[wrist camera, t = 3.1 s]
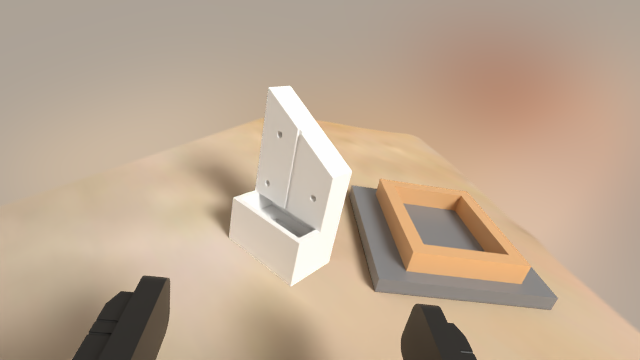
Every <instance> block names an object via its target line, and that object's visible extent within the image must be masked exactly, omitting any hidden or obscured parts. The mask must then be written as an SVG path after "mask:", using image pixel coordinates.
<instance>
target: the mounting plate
mask: <svg viewBox="0 0 640 360" xmlns="http://www.w3.org/2000/svg"><path fill="white" fill-rule="evenodd" d="M349 196H350V200H351V204H352V207H353V211H354V215H355V219H356V222H357V226H358V230H359V234H360V237H361V241H362V245H363V249H364V252H365V256H366V260H367V263H368V267H369V271H370V275H371V278H372V282H373V286H374V290H375V291H376V292H386V293H396V294H405V295H415V296H424V297H434V298H444V299H453V300H463V301H472V302H482V303H492V304H501V305H511V306H520V307H530V308H540V309H549V310H551V309H552V307H553V305H554V304H555V302H556V301H557V299H558V298H557V297H556V295H555V294H554V293H553V292H552V291H551V290H550V288H549V287H548V286H547V285H546V284H545V283H544V281H543V280H542V279H541V278H540V277H539V276H538V274H537V273H536V272H535V271H534V270H533V269H532V267H531V266H530V264H529V263H528V262H527V261H526V260H525V259H524V257H523V256H522V255H521V254H520V253H519V252H518V250H517V249H516V248H515V247H514V246H513V245H512V243H511V242H510V241H509V240H508V239H507V238H506V236H505V235H504V234H503V233H502V232H501V231H500V229H499V228H498V227H497V226H496V225H495V224H494V222H493V221H492V220H491V219H490V218H489V217H488V215H487V214H486V213H485V212H484V211H483V210H482V208H481V207H480V206H479V205H478V204H477V203H476V201H475V200H474V199H473V198H472V197H471V196H470V194H469V193H468V192H466V191H459V190H452V189H445V188H439V187H432V186H425V185H418V184H412V183H405V182H398V181H391V180H385V179H380V181H379V184H378V188H377V189H373V188H366V187H359V186H352V187H351V191H350V194H349Z"/></svg>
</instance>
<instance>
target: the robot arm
mask: <svg viewBox="0 0 640 360" xmlns="http://www.w3.org/2000/svg"><path fill="white" fill-rule="evenodd" d="M169 313H170V279H169V278H164V277H154V276H143V277H142V278H141V280H140V282H139V284H138V286H137V287H136V289H135V291H134V292H124V291H121V292H120V293H118V294H117V295H116V296H115V297H113V298H112V299H111V300H110V301H109V302H107V303H106V304H105V306H104V308H103V309H102V311H101V313H100V314H99V316H98V318H97V321H96V322H95V323H94V324H93V326H92V328H91V329H90V331H89V334H88V335H87V336H86V338H85V339H84V341H83V343H82V344H81V346H80V347H79V349H78V351H77V352H76V354H75V356H74V357H73V359H72V360H156V357H157V355H158V352H159V349H160V347H161V344H162V341H163V339H164V336H165V333H166V330H167V326H168V321H169ZM401 352H402V357H403V360H477V359H476V357H475V355H474V354H473V351H472V349H471V347H470V345H469V343H468V341H467V339H466V337H465V336H464V335H463V333H462V332H461V331H460V330H459V329H458V328H457V327H456V326H455V325H454V323H447V320H446V318H445V316H444V314H443V312H442V310H441V308H440V307H439V306H435V305H425V304H415V305H414V307H413V309H412V312H411V314H410V316H409V319H408V321H407V324H406V326H405V329H404V331H403V334H402V338H401Z"/></svg>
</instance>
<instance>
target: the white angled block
mask: <svg viewBox="0 0 640 360" xmlns="http://www.w3.org/2000/svg"><path fill="white" fill-rule="evenodd" d="M351 173H352V170H351V169H350V168H349V166H348V165H347V164H346V162H345V161H344V159H343V158H342V157H341V155H340V154H339V152H338V151H337V150H336V148H335V147H334V146H333V144H332V143H331V141H330V140H329V139H328V137H327V136H326V135H325V133H324V132H323V130H322V129H321V128H320V126H319V125H318V124H317V122H316V121H315V119H314V118H313V117H312V116H311V114H310V113H309V111H308V110H307V108H306V107H305V106H304V104H303V103H302V101H301V100H300V99H299V97H298V96H297V95H296V93H295V92H294V90H293V89H292V88H291V86H282V87H269V89H268V96H267V104H266V112H265V119H264V127H263V134H262V142H261V149H260V157H259V165H258V172H257V180H256V187H255V190H254V191H251V192H248V193H245V194H242V195H239V196H236V197H233V203H232V213H231V222H230V232H229V239H231V240H232V241H233V242H234V243H236V244H237V245H238V246H240V247H241V248H242V249H243V250H245V251H246V252H247V253H248V254H250V255H251V256H252V257H254V258H255V259H256V260H257V261H259V262H260V263H261V264H262V265H264V266H265V267H266V268H268V269H269V270H270V271H271V272H273V273H274V274H275V275H276V276H278V277H279V278H280V279H282V280H283V281H284V282H285V283H287V284H288V285H289V286H290V287H291V286H292V285H294V284H295V283H297V282H298V281H300V280H302V279H303V278H305V277H306V276H308V275H309V274H311V273H313V272H314V271H316V270H317V269H319V268H320V267H322V266H323V265H325V264H327V263H328V262H329V259H330V255H331V252H332V248H333V244H334V240H335V236H336V232H337V228H338V224H339V220H340V216H341V212H342V208H343V204H344V201H345V197H346V193H347V189H348V185H349V181H350V177H351Z"/></svg>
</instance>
